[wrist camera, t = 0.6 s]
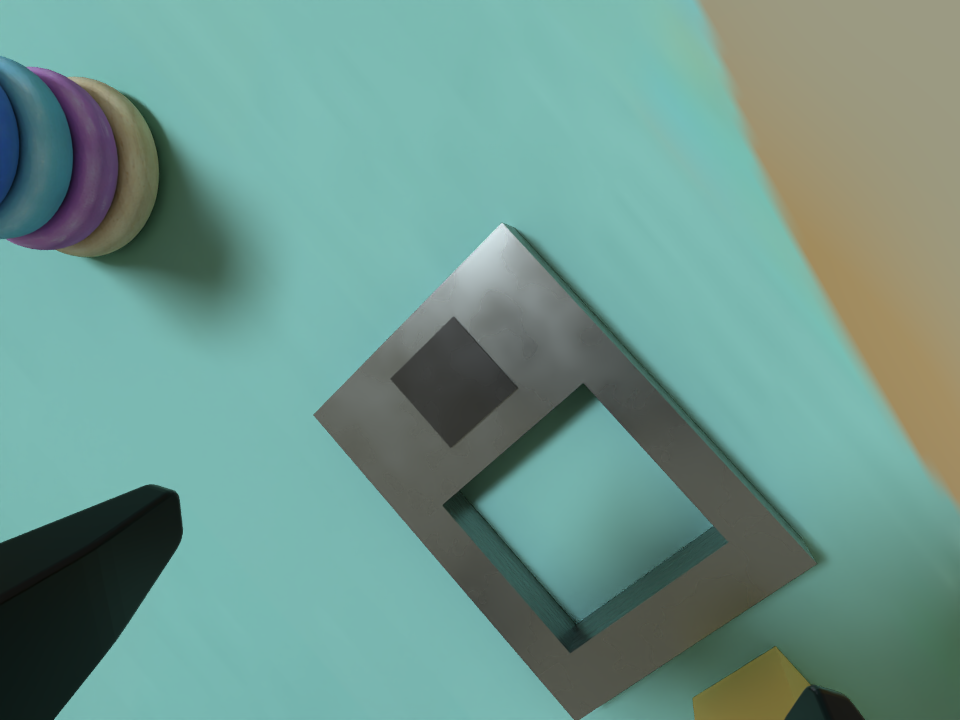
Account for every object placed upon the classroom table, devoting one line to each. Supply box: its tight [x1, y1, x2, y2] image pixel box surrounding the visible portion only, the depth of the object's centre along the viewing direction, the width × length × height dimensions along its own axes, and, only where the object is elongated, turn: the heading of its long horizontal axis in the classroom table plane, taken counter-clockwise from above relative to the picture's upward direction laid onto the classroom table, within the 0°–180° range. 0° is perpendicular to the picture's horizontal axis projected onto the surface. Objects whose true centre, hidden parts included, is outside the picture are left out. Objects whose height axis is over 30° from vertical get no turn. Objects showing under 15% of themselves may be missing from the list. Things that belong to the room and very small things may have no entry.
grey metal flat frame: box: [314, 223, 817, 720], centre depth 24 cm, size 11×16×2 cm
